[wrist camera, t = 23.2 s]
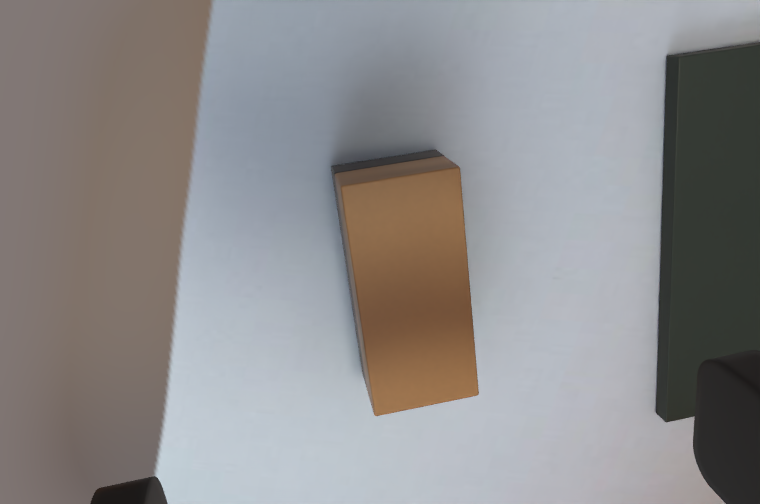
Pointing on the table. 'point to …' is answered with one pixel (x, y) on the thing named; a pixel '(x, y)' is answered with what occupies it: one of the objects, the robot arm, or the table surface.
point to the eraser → (408, 278)
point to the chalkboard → (708, 218)
